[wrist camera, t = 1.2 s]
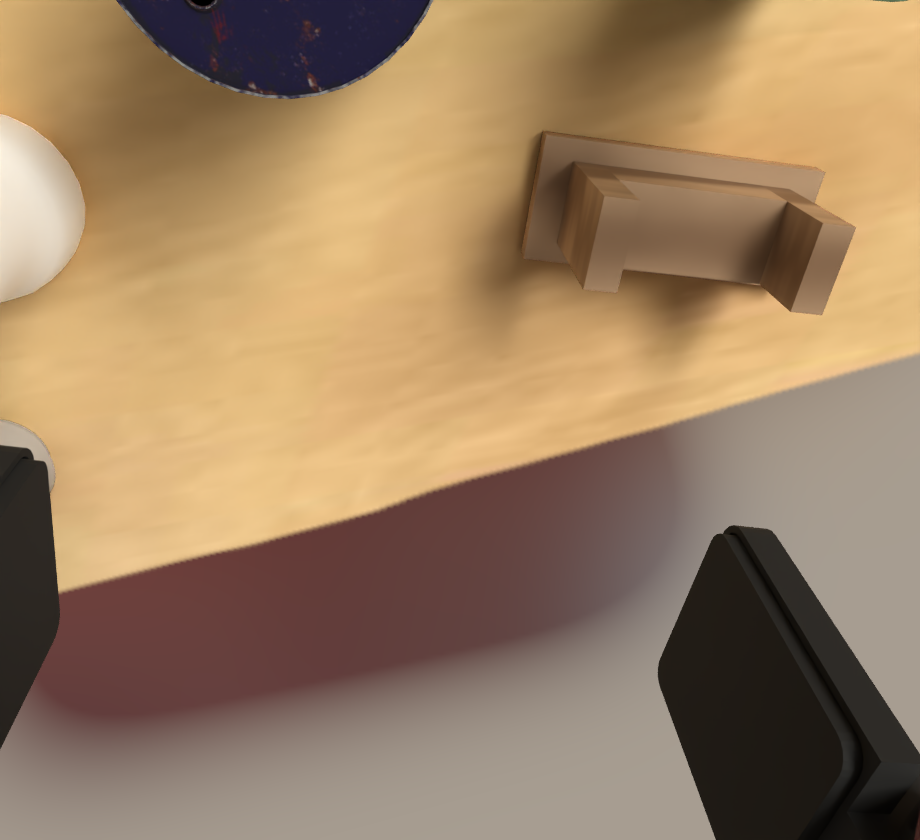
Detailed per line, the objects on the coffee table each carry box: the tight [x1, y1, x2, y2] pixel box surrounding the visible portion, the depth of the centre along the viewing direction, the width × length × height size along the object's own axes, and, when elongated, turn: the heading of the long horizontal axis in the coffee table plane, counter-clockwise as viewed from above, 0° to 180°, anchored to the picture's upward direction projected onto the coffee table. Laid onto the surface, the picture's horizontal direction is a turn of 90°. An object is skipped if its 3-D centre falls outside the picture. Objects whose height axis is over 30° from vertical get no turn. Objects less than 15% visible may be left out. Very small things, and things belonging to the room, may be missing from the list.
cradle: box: [521, 131, 856, 315], centre depth 37 cm, size 6×14×8 cm, turn 82°
